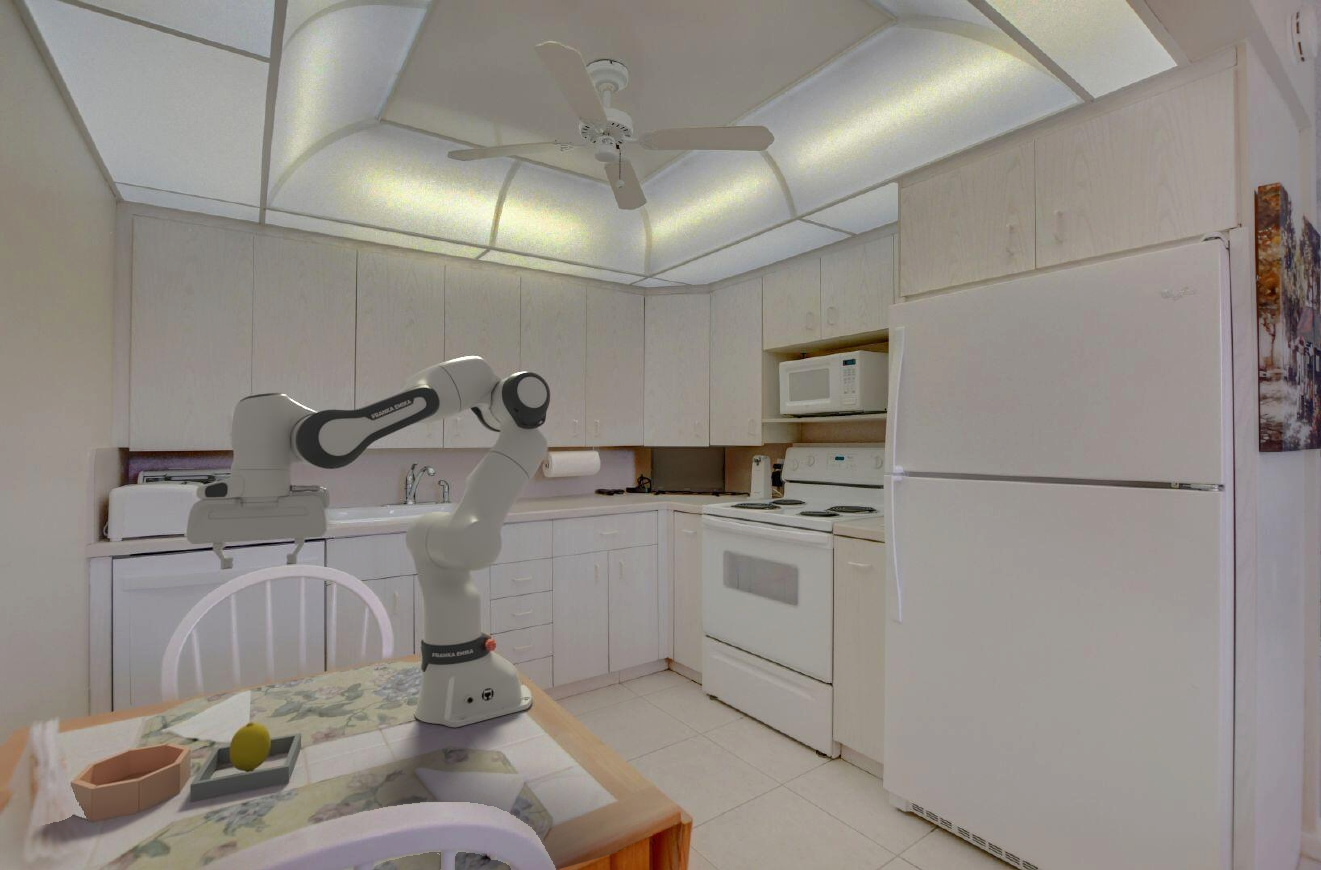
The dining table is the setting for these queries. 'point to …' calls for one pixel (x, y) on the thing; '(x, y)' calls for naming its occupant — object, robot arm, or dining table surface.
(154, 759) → the bowl
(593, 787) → the dining table surface
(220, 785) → the tray
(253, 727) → the lemon
